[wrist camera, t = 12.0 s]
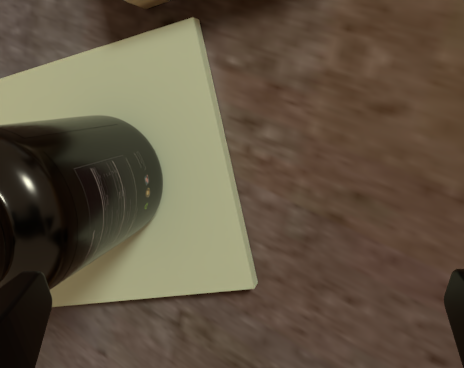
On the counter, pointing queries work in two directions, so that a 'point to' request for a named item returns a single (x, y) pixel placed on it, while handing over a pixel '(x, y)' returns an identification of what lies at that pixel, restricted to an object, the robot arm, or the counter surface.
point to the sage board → (170, 157)
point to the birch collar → (146, 3)
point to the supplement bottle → (72, 192)
